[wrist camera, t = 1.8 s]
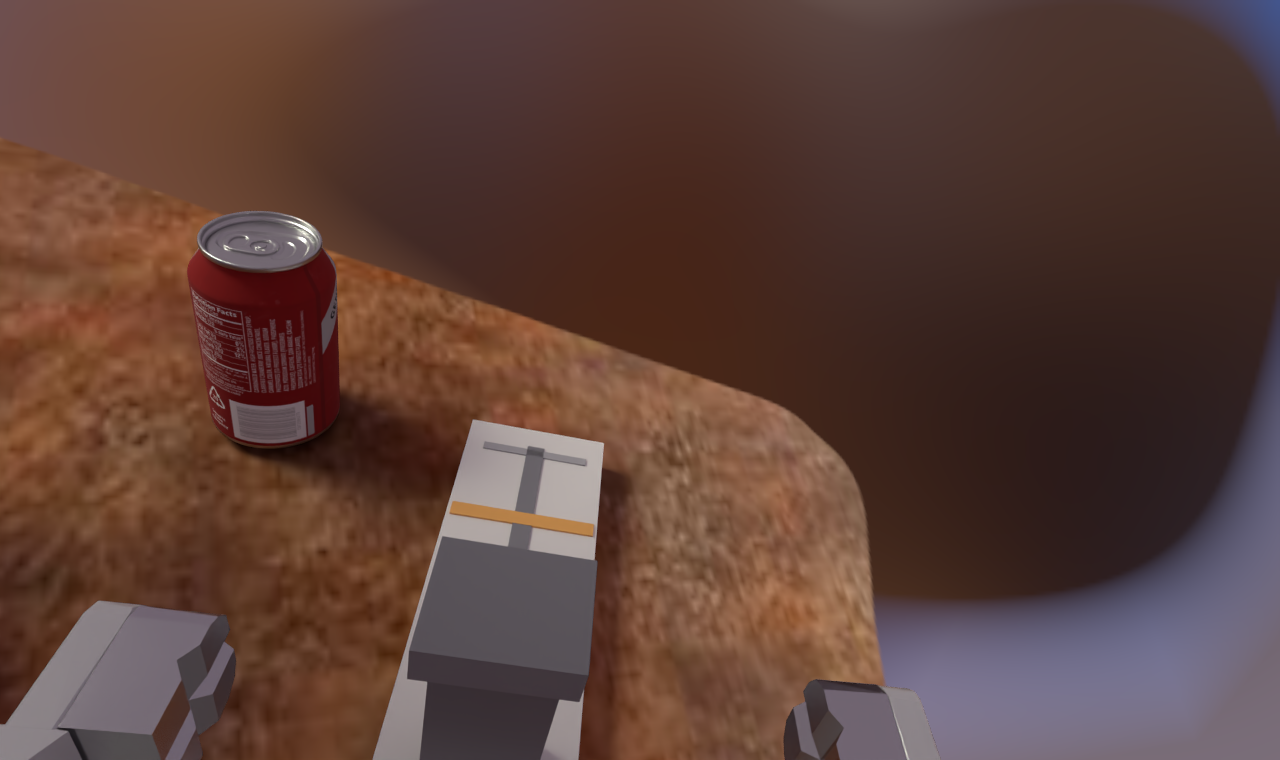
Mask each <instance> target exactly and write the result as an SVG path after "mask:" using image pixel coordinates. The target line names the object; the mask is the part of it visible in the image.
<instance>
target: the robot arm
mask: <svg viewBox="0 0 1280 760" xmlns="http://www.w3.org/2000/svg"><path fill="white" fill-rule="evenodd" d="M229 631H230V628H229V624H228V621H227V617H226V615H221V614H212V613H203V612H194V611H184V610H175V609H166V608H157V607H148V606H144V605H137V604H127V603H117V602H107V601H97V602H96V603H95V604H94V605H92V606H91V607H90V608H89V609H88V610H87V611H85V612H84V613H83V614H82V616H81V617H80V619H79V620H78V621H77V623H76V624H75V626H74V627H73V629H72V630H71V631H70V633H69V634H68V636H67V637H66V639H65V640H64V641H63V643H62V644H61V646H60V647H59V649H58V650H57V651H56V653H55V654H54V656H53V657H52V658H51V660H50V661H49V663H48V664H47V666H46V667H45V668H44V670H43V671H42V673H41V674H40V676H39V677H38V678H37V680H36V681H35V683H34V684H33V686H32V687H31V688H30V690H29V691H28V693H27V694H26V696H25V697H24V698H23V700H22V701H21V703H20V704H19V705H18V707H17V708H16V710H15V711H14V713H13V714H12V715H11V717H10V718H9V720H8V721H7V723H6V724H0V760H201V757H202V755H203V752H202V748H201V744H200V740H199V735H200V734H201V733H203V732H204V731H205V730H206V729H208V728H209V727H210V726H212V725H213V724H214V723H216V722H217V721H218V720H219V718H220V716H221V714H222V712H223V709H224V707H225V705H226V703H227V700H228V698H229V694H230V691H231V687H232V684H233V680H234V677H235V666H236V658H235V652H234V649H233V648H232V647H230V646H229V645H228V644H227V643H225V642H224V641H225V639H226V637H227V635H228V633H229ZM803 692H804V697H805V702H804V703H802V704H799V705H797V706H795V707H793V709H792V711H791V713H790V715H789V716H788V718H787V720H786V726H785V733H784V757H785V760H941V758H940V755H939V752H938V750H937V747H936V744H935V741H934V738H933V735H932V732H931V729H930V726H929V723H928V721H927V717H926V715H925V712H924V709H923V706H922V703H921V700H920V698H919V697H918V696H917V694H916V693H915V692H914V691H912V690H910V689H907V688H897V687H887V686H878V685H874V684H862V683H851V682H840V681H829V680H818V679H816V680H813V681H810V682H809V683H808V685H807V686H806V688H805V690H804V691H803Z"/></svg>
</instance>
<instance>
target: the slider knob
mask: <svg viewBox="0 0 1280 760" xmlns="http://www.w3.org/2000/svg"><path fill="white" fill-rule="evenodd" d="M596 574H597V561H595V560H589V559H583V558H576V557H570V556H564V555H558V554H551V553H545V552H539V551H533V550H526V549H520V548H514V547H508V546H501V545H495V544H489V543H483V542H476V541H470V540H464V539H457V538H451V537H445V536H442V539H441V542H440V546H439V549H438V552H437V556H436V559H435V563H434V566H433V570H432V573H431V576H430V580H429V583H428V587H427V590H426V594H425V597H424V601H423V604H422V607H421V611H420V614H419V618H418V621H417V625H416V628H415V631H414V635H413V638H412V642H411V645H410V649H409V657H408V672H407V679H410V680H417V681H425V682H427V690H426V700H425V710H424V720H423V730H422V740H421V750H420V760H540V759H541V756H542V753H543V749H544V746H545V743H546V740H547V737H548V734H549V730H550V727H551V724H552V721H553V718H554V715H555V712H556V708H557V705H558V702H559V700H566V701H573V702H580V699H581V696H582V693H583V690H584V688H585V685H586V682H587V679H588V676H589V665H590V652H591V639H592V626H593V613H594V600H595V587H596Z"/></svg>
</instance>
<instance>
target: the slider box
mask: <svg viewBox="0 0 1280 760" xmlns="http://www.w3.org/2000/svg"><path fill="white" fill-rule="evenodd" d="M603 448H604V443H600V442H595V441H589V440H584V439H578V438H573V437H567V436H561V435H556V434H550V433H545V432H539V431H534V430H528V429H523V428H517V427H512V426H506V425H500V424H495V423H489V422H484V421H478V420H473V422H472V425H471V428H470V432H469V435H468V439H467V442H466V445H465V449H464V452H463V456H462V459H461V462H460V466H459V469H458V472H457V476H456V479H455V483H454V486H453V489H452V493H451V496H450V499H449V503H448V506H447V510H446V513H445V516H444V520H443V523H442V526H441V530H440V533H439V537H438V540H437V543H436V547H435V550H434V553H433V557H432V560H431V564H430V567H429V570H428V574H427V577H426V580H425V584H424V587H423V591H422V594H421V597H420V601H419V604H418V608H417V611H416V614H415V618H414V621H413V624H412V628H411V631H410V635H409V638H408V641H407V645H406V648H405V651H404V655H403V658H402V662H401V665H400V668H399V672H398V675H397V678H396V682H395V685H394V689H393V692H392V695H391V699H390V702H389V705H388V709H387V712H386V716H385V719H384V722H383V726H382V729H381V732H380V736H379V739H378V743H377V746H376V749H375V753H374V756H373V759H372V760H420V750H421V740H422V730H423V720H424V710H425V700H426V690H427V682H425V681H417V680H410V679H407V672H408V657H409V649H410V645H411V642H412V638H413V635H414V631H415V628H416V625H417V621H418V618H419V614H420V611H421V607H422V604H423V601H424V597H425V594H426V590H427V587H428V583H429V580H430V576H431V573H432V570H433V566H434V563H435V559H436V556H437V552H438V549H439V546H440V542H441V539H442V536H445V537H451V538H457V539H464V540H470V541H476V542H483V543H489V544H495V545H501V546H508V547H514V548H520V549H526V550H533V551H539V552H545V553H551V554H558V555H564V556H570V557H576V558H583V559H589V560H594V559H595V547H596V534H597V522H598V510H599V497H600V485H601V472H602V460H603ZM583 696H584V690H583V693H582V696H581V699H580V702H573V701H566V700H559V702H558V705H557V708H556V712H555V715H554V718H553V721H552V724H551V727H550V730H549V734H548V737H547V740H546V743H545V746H544V749H543V753H542V756H541V759H540V760H578V758H579V745H580V733H581V720H582V708H583Z"/></svg>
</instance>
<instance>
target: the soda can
mask: <svg viewBox="0 0 1280 760" xmlns="http://www.w3.org/2000/svg"><path fill="white" fill-rule="evenodd" d="M197 243H198V247H199V248H198V250H197V251H196V253H195V254H194V255H193V257H192V258H191V260H190V262H189V265H188V270H187V274H188V281H189V287H190V293H191V299H192V305H193V310H194V316H195V322H196V328H197V334H198V340H199V346H200V352H201V357H202V363H203V369H204V375H205V381H206V387H207V393H208V399H209V404H210V410H211V416H212V420H213V423H214V425H215V426H216V428H217V429H218V430H219V431H220V432H221V433H222V434H223V435H224V436H225V437H227V438H228V439H230V440H232V441H234V442H236V443H239V444H242V445H245V446H249V447H254V448H264V449H276V448H285V447H291V446H295V445H299V444H302V443H305V442H308V441H310V440H312V439H314V438H316V437H318V436H319V435H321V434H322V433H324V432H325V431H326V430H327V429H328V428H330V426H331V425H332V424H333V423H334V421H335V420H336V418H337V416H338V413H339V410H340V388H339V351H338V314H337V277H336V267H335V264H334V262H333V260H332V259H331V257H330V256H329V255H328V254H327V253H326V251H325V250H324V249H323V248H322V238H321V235H320V233H319V232H318V230H317V229H316V228H315V227H314V226H312V225H311V224H309V223H308V222H306V221H304V220H302V219H299V218H297V217H294V216H290V215H287V214H282V213H277V212H267V211H246V212H238V213H233V214H228V215H224V216H221V217H218V218H216V219H214V220H212V221H210V222H208V223H207V224H205V225H204V226H203V227H202V228H201V229H200V231H199V233H198V236H197Z"/></svg>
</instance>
